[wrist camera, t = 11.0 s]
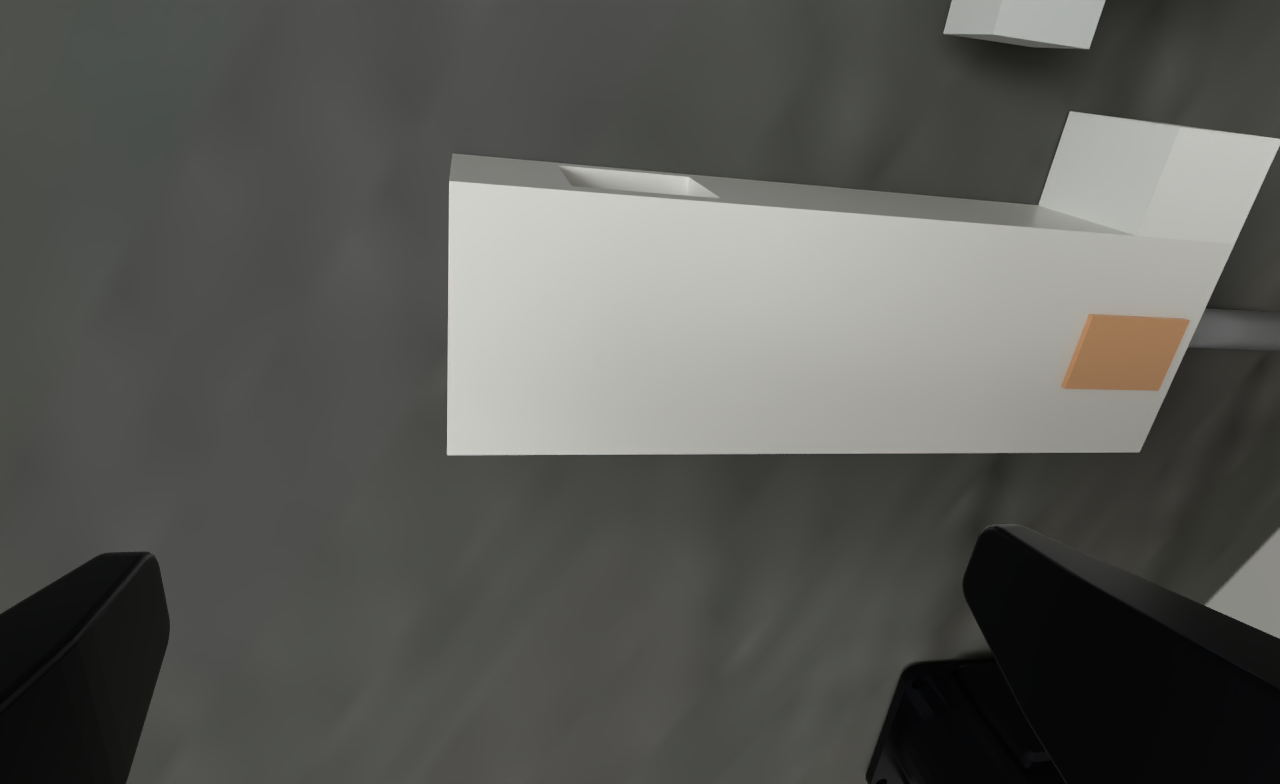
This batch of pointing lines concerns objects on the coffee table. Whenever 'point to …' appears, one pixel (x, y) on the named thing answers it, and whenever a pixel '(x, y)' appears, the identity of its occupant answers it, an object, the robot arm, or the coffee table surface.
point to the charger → (1026, 21)
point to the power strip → (842, 304)
